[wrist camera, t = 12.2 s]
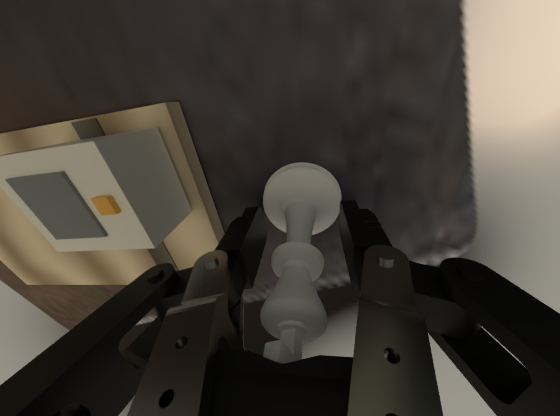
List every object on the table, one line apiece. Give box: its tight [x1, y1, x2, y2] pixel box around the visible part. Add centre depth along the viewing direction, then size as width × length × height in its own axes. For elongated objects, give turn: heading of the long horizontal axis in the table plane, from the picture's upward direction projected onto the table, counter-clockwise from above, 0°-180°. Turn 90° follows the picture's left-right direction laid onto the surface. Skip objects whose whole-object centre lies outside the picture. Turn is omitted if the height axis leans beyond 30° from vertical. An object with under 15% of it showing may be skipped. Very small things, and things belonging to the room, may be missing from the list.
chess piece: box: [260, 162, 341, 364], centre depth 8 cm, size 5×5×10 cm
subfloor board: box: [0, 102, 225, 285], centre depth 15 cm, size 22×13×1 cm, turn 98°
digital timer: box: [0, 127, 192, 252], centre depth 10 cm, size 6×5×4 cm
